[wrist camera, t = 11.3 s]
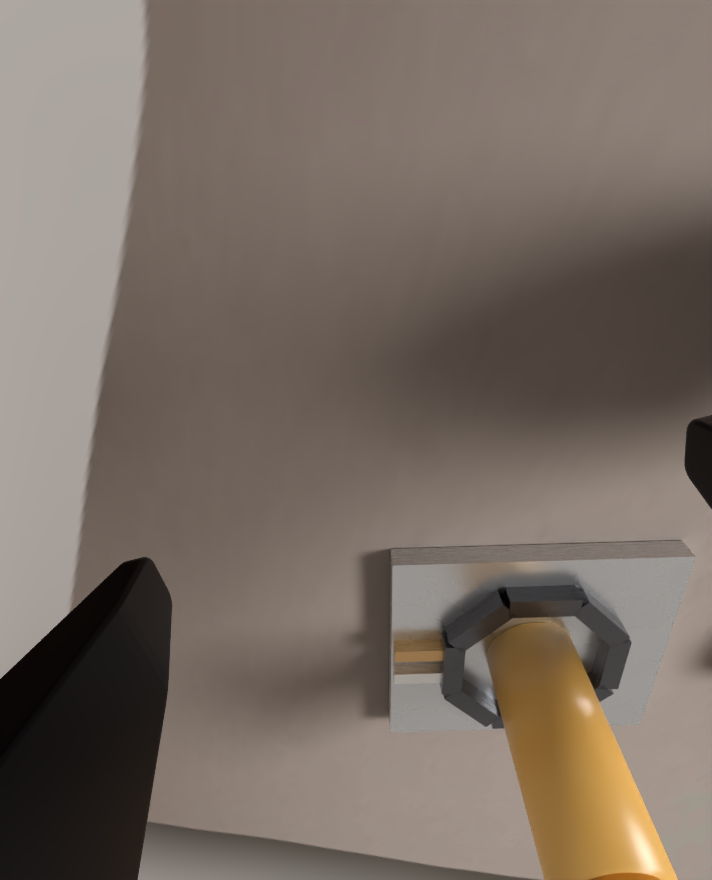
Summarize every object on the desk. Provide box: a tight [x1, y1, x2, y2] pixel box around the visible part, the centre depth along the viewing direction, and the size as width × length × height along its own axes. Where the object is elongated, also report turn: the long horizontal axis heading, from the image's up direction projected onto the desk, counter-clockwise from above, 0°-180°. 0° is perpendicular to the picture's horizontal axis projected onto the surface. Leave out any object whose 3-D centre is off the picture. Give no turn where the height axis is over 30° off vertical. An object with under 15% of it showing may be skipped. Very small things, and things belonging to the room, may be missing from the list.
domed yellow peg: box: [487, 622, 678, 880], centre depth 24 cm, size 4×4×12 cm
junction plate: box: [389, 540, 695, 733], centre depth 29 cm, size 14×12×2 cm
